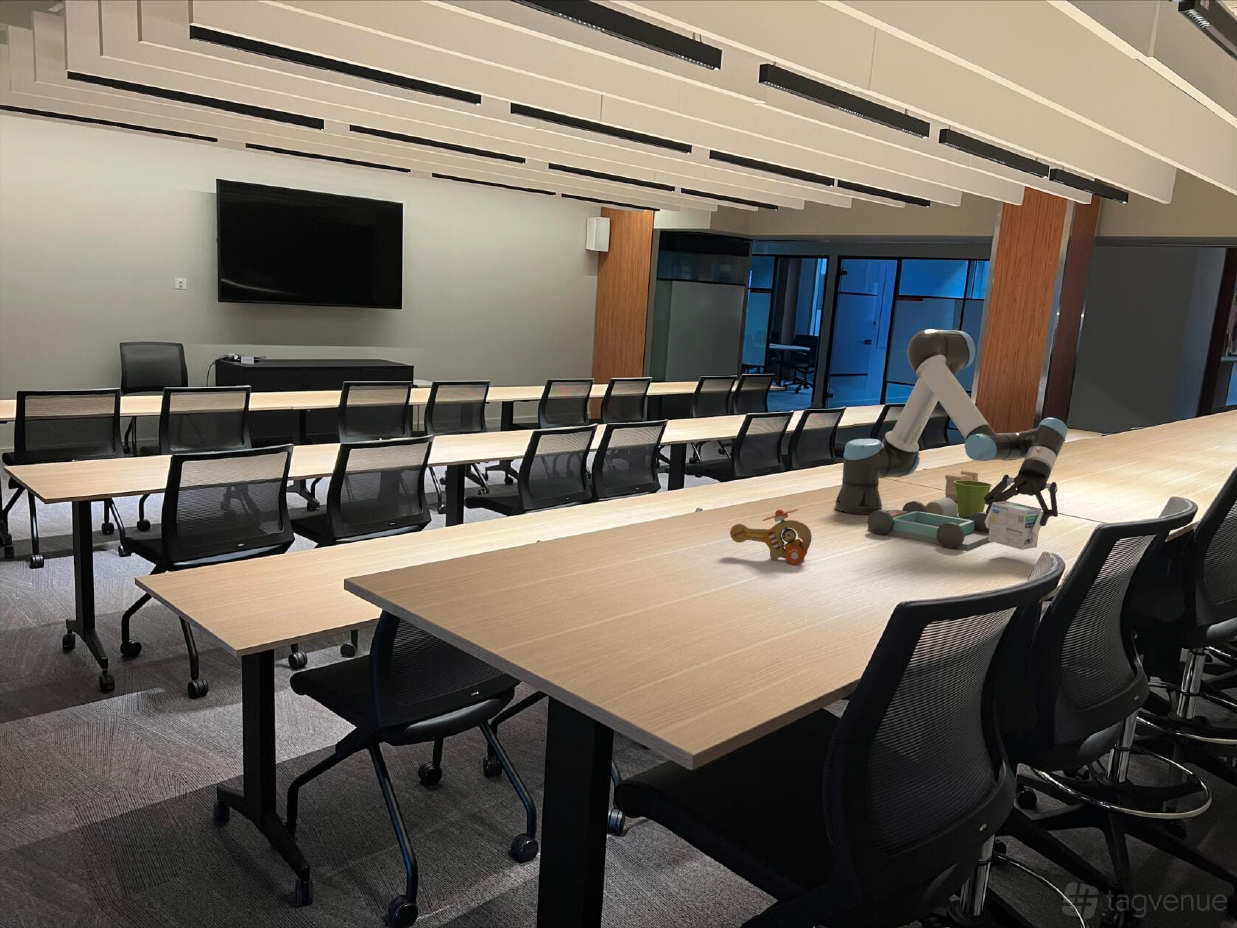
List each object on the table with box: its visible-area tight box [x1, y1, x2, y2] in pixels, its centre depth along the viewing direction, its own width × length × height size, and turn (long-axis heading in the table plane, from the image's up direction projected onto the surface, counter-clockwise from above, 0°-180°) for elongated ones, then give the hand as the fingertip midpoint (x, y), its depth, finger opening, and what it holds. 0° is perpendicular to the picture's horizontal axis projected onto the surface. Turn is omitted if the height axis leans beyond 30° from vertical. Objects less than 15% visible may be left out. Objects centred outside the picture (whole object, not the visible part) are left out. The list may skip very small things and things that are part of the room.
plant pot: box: [954, 480, 994, 519], centre depth 297 cm, size 12×12×11 cm
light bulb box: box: [988, 500, 1042, 551], centre depth 242 cm, size 11×7×11 cm, turn 33°
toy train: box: [944, 470, 979, 503], centre depth 326 cm, size 6×17×10 cm, turn 136°
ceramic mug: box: [924, 497, 960, 518], centre depth 285 cm, size 11×8×8 cm
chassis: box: [867, 500, 989, 551], centre depth 268 cm, size 30×25×7 cm
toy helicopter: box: [729, 509, 812, 566], centre depth 234 cm, size 8×21×14 cm, turn 72°
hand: (1010, 529), depth 241 cm, fingers closed on light bulb box, 12 cm apart
